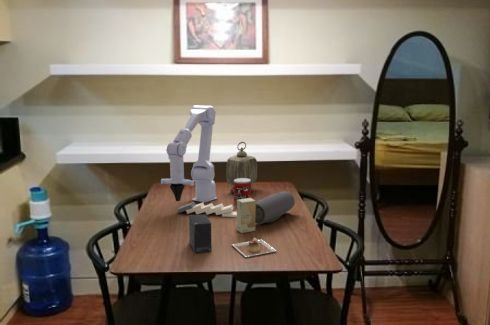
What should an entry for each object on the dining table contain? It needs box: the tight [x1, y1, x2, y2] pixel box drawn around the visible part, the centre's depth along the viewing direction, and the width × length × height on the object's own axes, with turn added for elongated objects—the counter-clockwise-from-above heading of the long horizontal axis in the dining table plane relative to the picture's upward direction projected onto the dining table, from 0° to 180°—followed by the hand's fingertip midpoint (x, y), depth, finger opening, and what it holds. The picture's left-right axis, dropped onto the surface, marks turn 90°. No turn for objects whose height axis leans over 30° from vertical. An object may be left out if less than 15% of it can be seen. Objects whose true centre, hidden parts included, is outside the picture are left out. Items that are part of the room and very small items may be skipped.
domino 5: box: [215, 204, 235, 216], centre depth 204 cm, size 2×4×7 cm
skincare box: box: [236, 197, 257, 234], centre depth 184 cm, size 6×4×12 cm
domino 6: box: [221, 210, 237, 218], centre depth 203 cm, size 2×4×7 cm
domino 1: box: [176, 201, 196, 214], centre depth 207 cm, size 2×4×7 cm
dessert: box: [230, 237, 278, 258], centre depth 166 cm, size 12×12×5 cm
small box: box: [188, 213, 213, 254], centre depth 168 cm, size 11×6×10 cm, turn 17°
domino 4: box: [204, 203, 225, 216], centre depth 205 cm, size 2×4×7 cm
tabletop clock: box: [225, 141, 258, 194], centre depth 238 cm, size 14×9×25 cm, turn 144°
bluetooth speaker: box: [255, 190, 296, 225], centre depth 197 cm, size 23×9×10 cm, turn 145°
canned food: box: [233, 178, 252, 206], centre depth 219 cm, size 8×8×11 cm
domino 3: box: [194, 202, 215, 215], centre depth 206 cm, size 2×4×7 cm
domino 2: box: [186, 202, 206, 215], centre depth 207 cm, size 2×4×7 cm
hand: (178, 200), depth 208 cm, fingers closed
